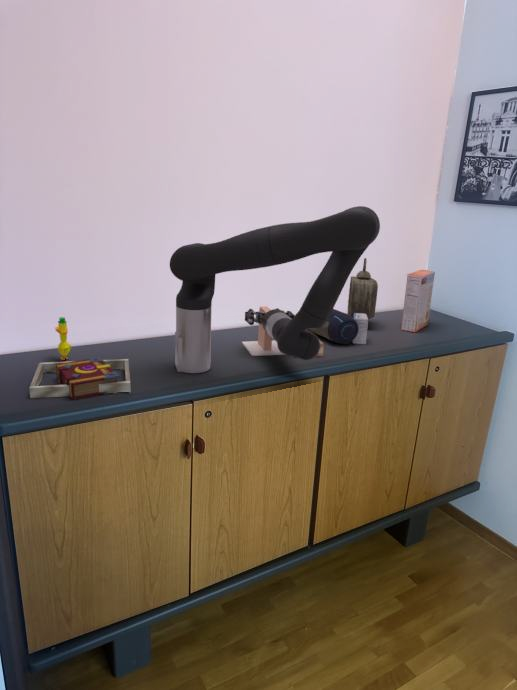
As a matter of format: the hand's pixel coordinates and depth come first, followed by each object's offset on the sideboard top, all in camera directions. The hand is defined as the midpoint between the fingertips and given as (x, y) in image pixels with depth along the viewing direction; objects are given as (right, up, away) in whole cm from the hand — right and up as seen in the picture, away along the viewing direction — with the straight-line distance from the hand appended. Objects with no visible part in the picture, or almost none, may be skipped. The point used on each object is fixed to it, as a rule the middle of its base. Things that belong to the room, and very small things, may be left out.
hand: (263, 311), depth 157 cm
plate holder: (+12, -12, 0) cm, 17 cm away
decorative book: (-43, -20, -32) cm, 58 cm away
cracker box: (+57, -4, +33) cm, 66 cm away
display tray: (-45, -19, -31) cm, 58 cm away
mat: (0, -11, +1) cm, 11 cm away
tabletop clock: (+36, -3, +32) cm, 48 cm away
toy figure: (-55, -14, -17) cm, 59 cm away
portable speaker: (+21, -7, +17) cm, 28 cm away
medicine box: (+32, -9, +13) cm, 36 cm away
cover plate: (0, -11, +1) cm, 11 cm away
